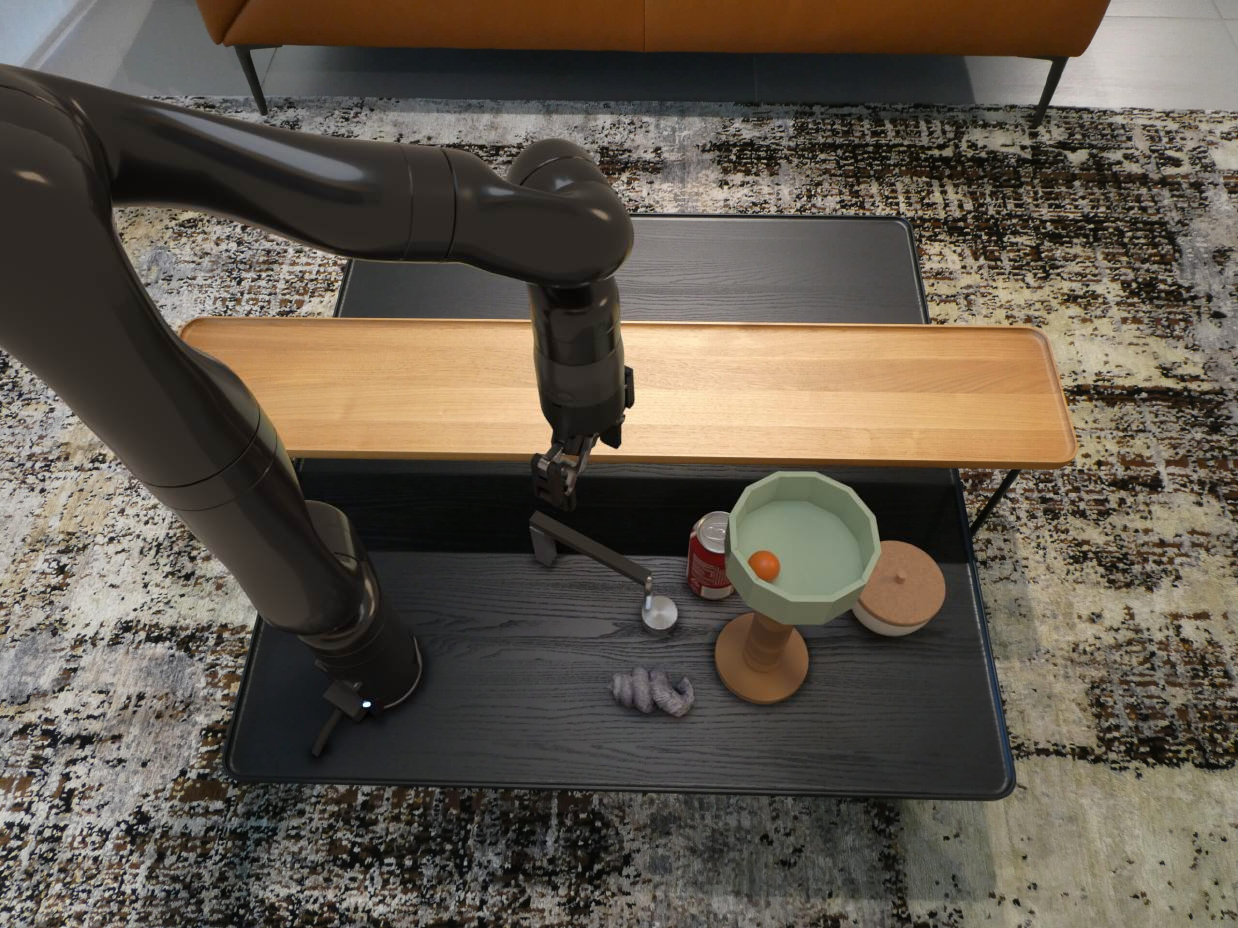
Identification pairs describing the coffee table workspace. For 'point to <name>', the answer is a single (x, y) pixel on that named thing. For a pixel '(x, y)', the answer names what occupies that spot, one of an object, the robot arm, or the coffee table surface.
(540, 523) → the ladle
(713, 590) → the soda can
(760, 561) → the ball
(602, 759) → the coffee table surface
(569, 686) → the coffee table surface
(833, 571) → the bowl
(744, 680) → the stand
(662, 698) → the seashell
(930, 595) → the trinket box
